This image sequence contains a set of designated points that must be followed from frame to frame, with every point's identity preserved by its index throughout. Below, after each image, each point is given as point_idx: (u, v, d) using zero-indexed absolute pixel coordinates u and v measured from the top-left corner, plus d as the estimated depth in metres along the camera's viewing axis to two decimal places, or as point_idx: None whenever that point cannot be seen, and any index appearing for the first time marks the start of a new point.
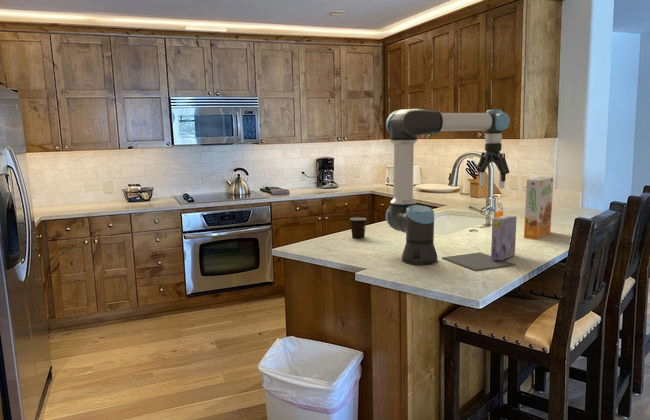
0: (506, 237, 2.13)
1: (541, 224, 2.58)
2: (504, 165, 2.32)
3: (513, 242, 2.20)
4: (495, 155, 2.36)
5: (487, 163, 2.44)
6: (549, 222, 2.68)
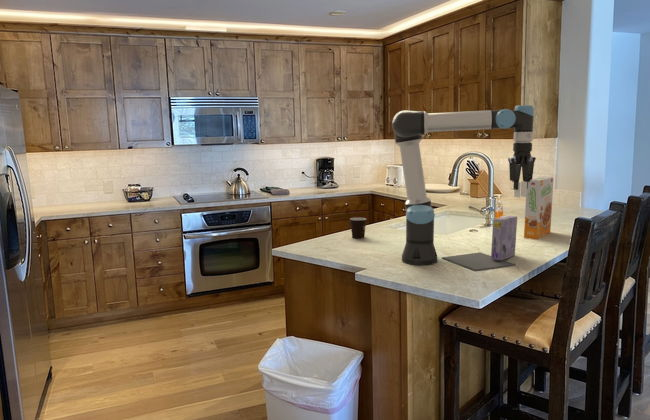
0: (507, 238, 2.12)
1: (541, 224, 2.58)
2: (510, 172, 2.14)
3: (513, 242, 2.20)
4: None
5: (524, 167, 2.15)
6: (549, 222, 2.68)
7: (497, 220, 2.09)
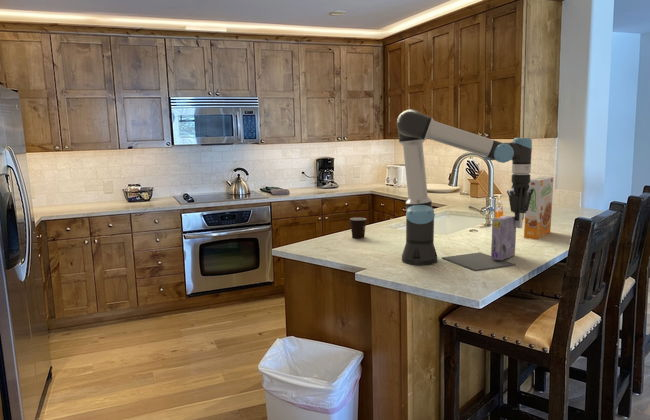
0: (506, 237, 2.13)
1: (541, 224, 2.58)
2: (511, 204, 2.16)
3: (513, 242, 2.20)
4: None
5: (521, 198, 2.17)
6: (549, 222, 2.68)
7: (496, 220, 2.09)
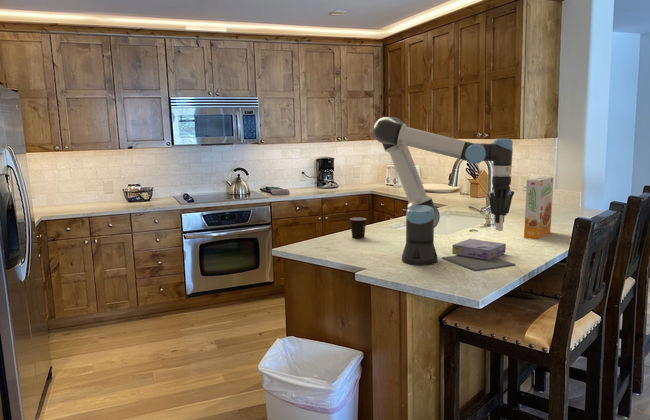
0: (475, 244, 2.21)
1: (541, 224, 2.58)
2: (491, 206, 2.12)
3: (490, 242, 2.26)
4: None
5: (501, 200, 2.13)
6: (549, 222, 2.68)
7: (453, 250, 2.23)
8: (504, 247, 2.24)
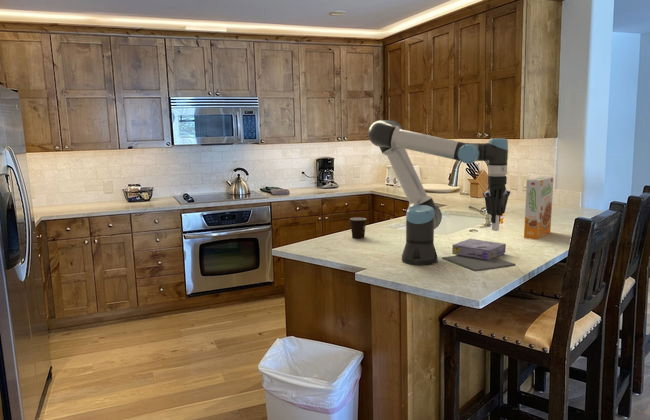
0: (475, 244, 2.21)
1: (541, 224, 2.58)
2: (487, 206, 2.11)
3: (490, 242, 2.26)
4: None
5: (497, 200, 2.12)
6: (549, 222, 2.68)
7: (453, 250, 2.23)
8: (504, 247, 2.24)
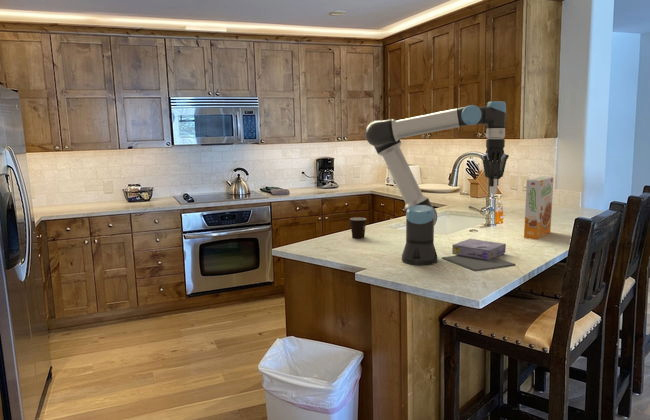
0: (475, 244, 2.21)
1: (541, 224, 2.58)
2: (485, 169, 2.13)
3: (490, 242, 2.26)
4: None
5: (495, 164, 2.14)
6: (549, 222, 2.68)
7: (453, 250, 2.23)
8: (504, 247, 2.24)
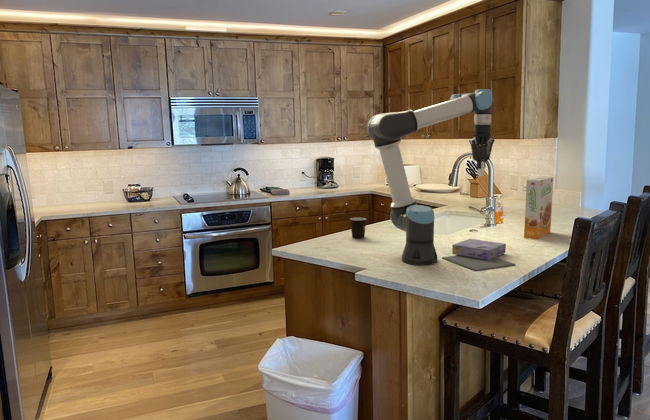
0: (475, 244, 2.21)
1: (541, 224, 2.58)
2: (473, 152, 2.29)
3: (490, 242, 2.26)
4: None
5: (482, 147, 2.30)
6: (549, 222, 2.68)
7: (453, 250, 2.23)
8: (504, 247, 2.24)
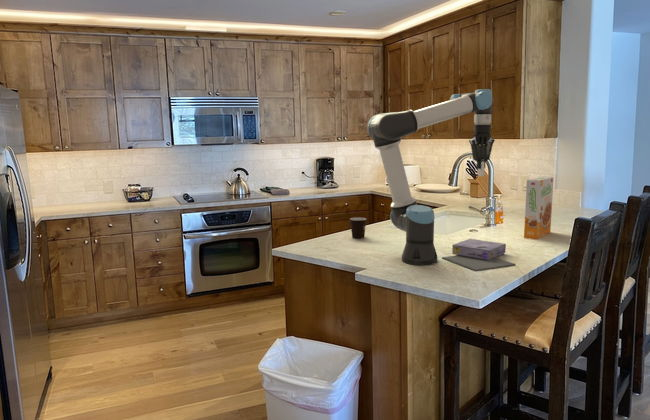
0: (475, 244, 2.21)
1: (541, 224, 2.58)
2: (473, 152, 2.29)
3: (490, 242, 2.26)
4: None
5: (482, 147, 2.30)
6: (549, 222, 2.68)
7: (453, 250, 2.23)
8: (504, 247, 2.24)
